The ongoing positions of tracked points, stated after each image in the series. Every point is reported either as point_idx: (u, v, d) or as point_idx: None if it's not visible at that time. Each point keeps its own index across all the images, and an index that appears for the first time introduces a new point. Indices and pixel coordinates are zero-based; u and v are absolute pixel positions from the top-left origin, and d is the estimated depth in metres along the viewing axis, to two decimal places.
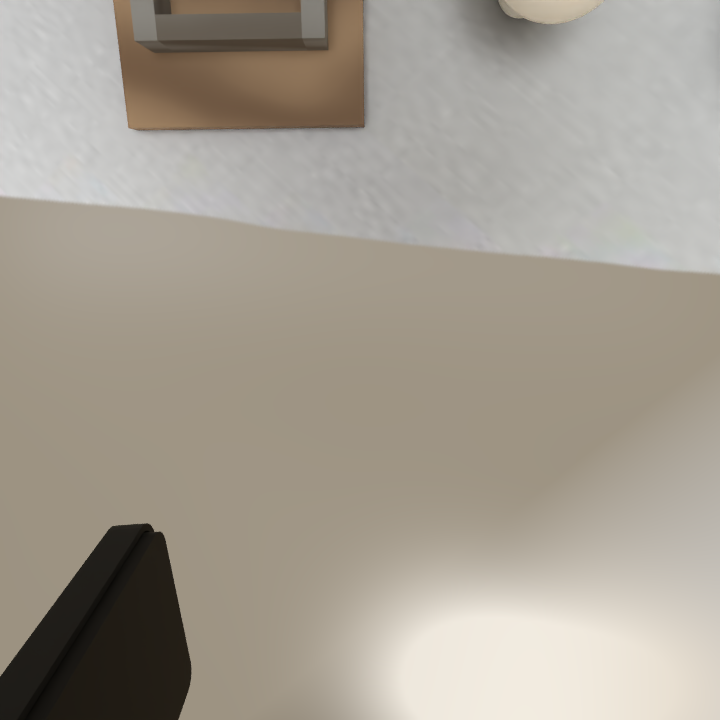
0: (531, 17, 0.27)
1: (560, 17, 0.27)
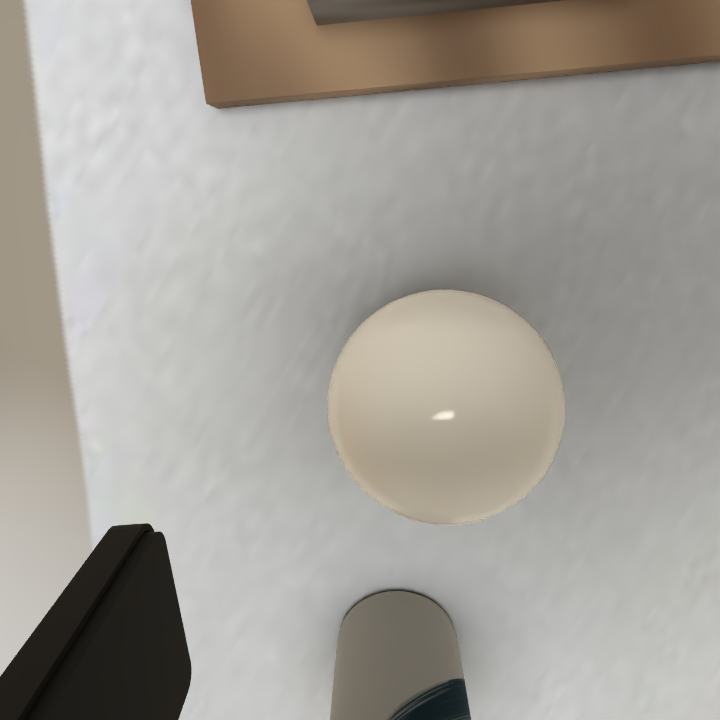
0: (332, 373, 0.16)
1: None
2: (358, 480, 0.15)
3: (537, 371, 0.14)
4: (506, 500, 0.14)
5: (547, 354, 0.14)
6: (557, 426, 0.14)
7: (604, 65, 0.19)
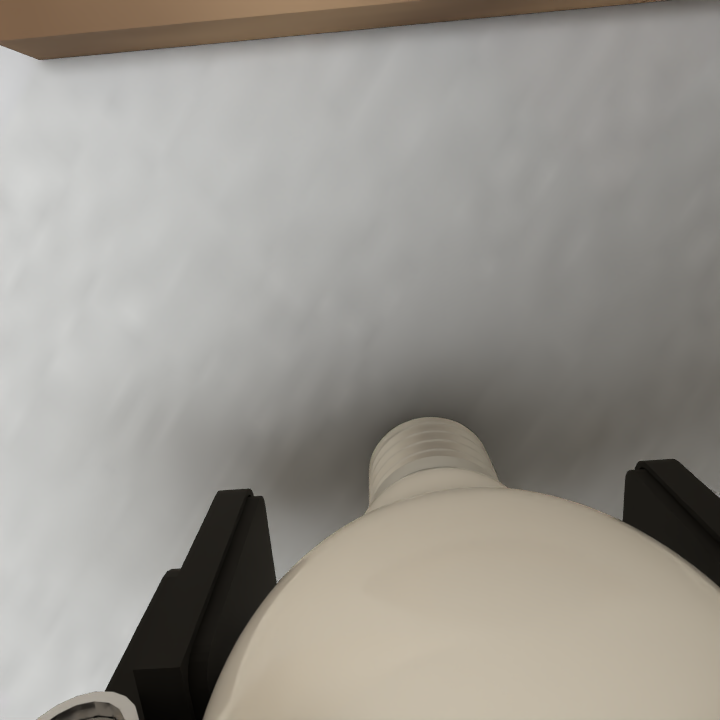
0: None
1: None
2: None
3: None
4: None
5: None
6: None
7: None
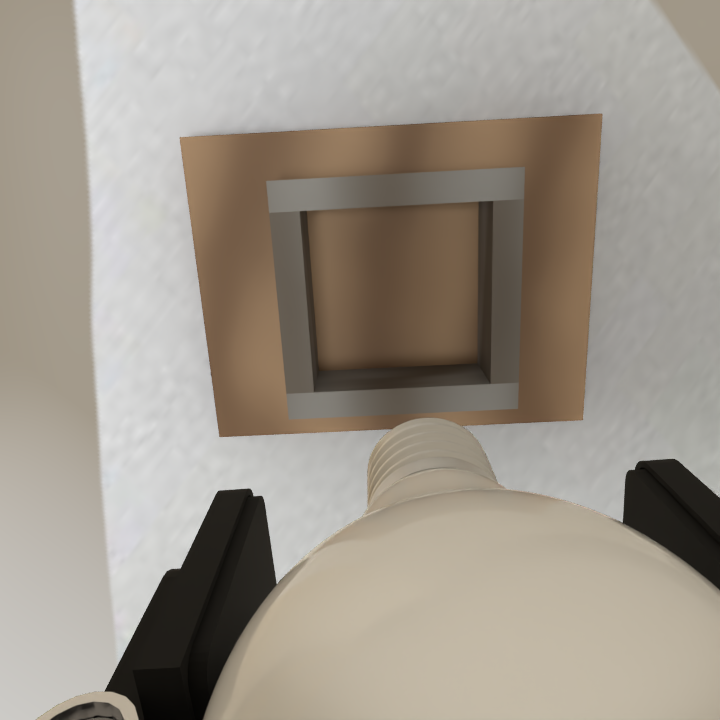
0: None
1: None
2: None
3: None
4: None
5: None
6: None
7: (487, 423, 0.29)
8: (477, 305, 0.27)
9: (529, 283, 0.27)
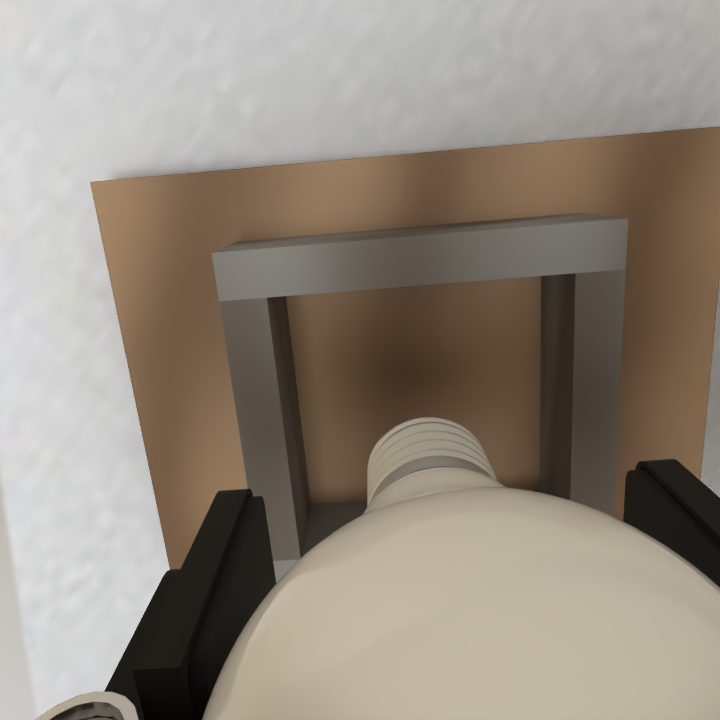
0: None
1: None
2: None
3: None
4: None
5: None
6: None
7: None
8: (539, 410, 0.18)
9: None
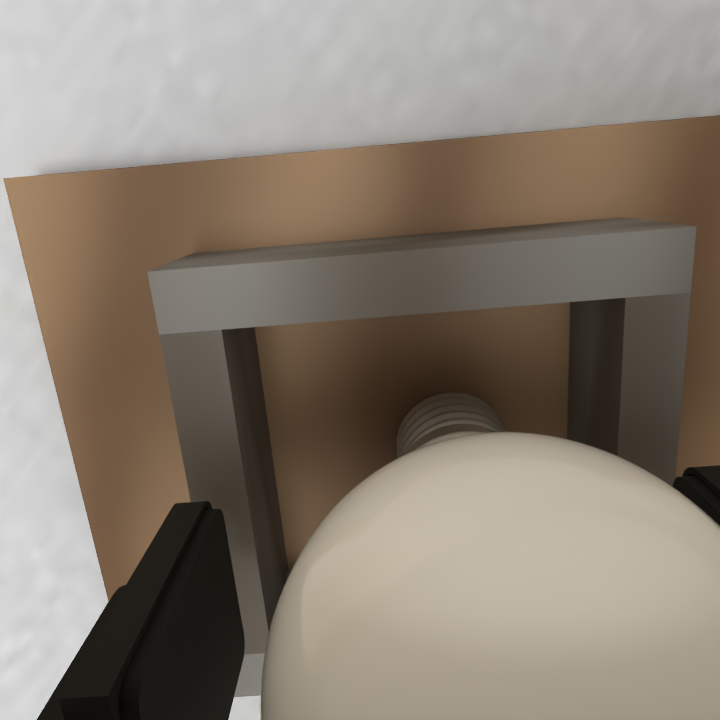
0: (272, 619, 0.07)
1: None
2: None
3: None
4: None
5: None
6: None
7: None
8: None
9: None
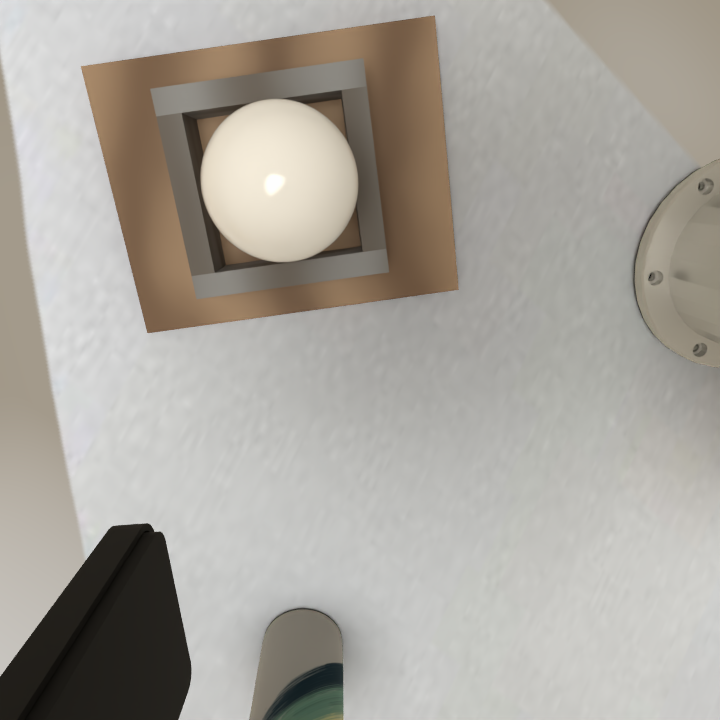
0: None
1: None
2: (221, 224, 0.23)
3: (323, 134, 0.22)
4: (313, 221, 0.22)
5: (336, 131, 0.22)
6: (343, 173, 0.22)
7: (377, 300, 0.33)
8: None
9: (395, 170, 0.31)
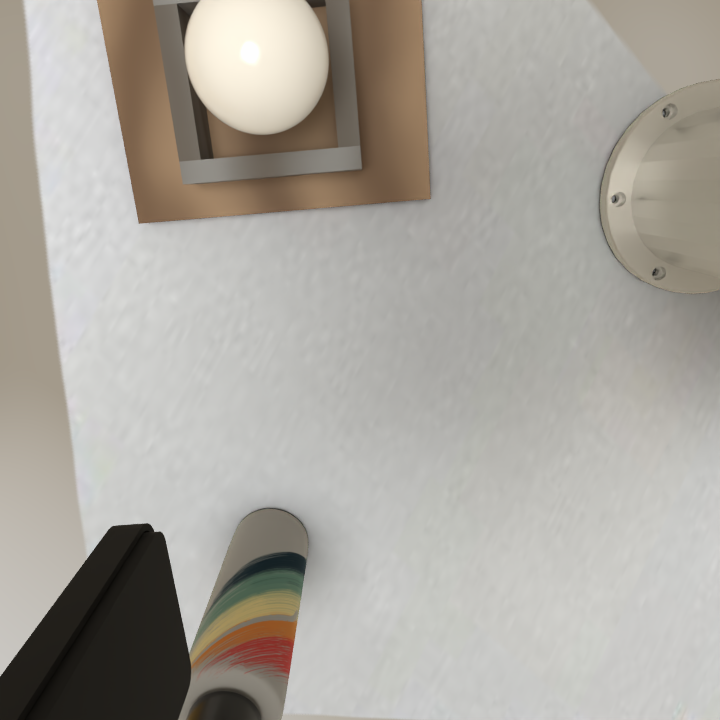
0: None
1: None
2: (200, 87, 0.25)
3: (295, 5, 0.24)
4: (281, 85, 0.24)
5: (308, 6, 0.25)
6: (311, 43, 0.24)
7: (353, 204, 0.36)
8: None
9: (375, 78, 0.34)
